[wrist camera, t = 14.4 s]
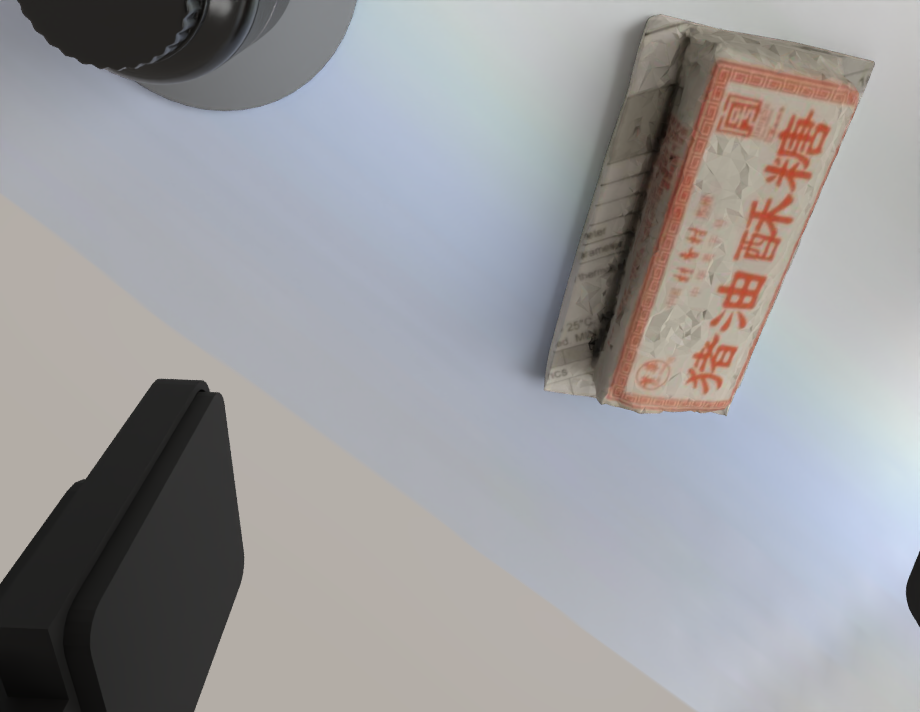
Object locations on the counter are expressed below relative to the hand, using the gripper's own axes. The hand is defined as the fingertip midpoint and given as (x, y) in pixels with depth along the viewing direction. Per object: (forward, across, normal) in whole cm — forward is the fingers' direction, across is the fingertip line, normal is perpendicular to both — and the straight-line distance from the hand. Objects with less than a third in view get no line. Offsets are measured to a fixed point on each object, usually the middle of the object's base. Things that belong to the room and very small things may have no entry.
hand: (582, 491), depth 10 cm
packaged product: (+29, -8, +7) cm, 31 cm away
